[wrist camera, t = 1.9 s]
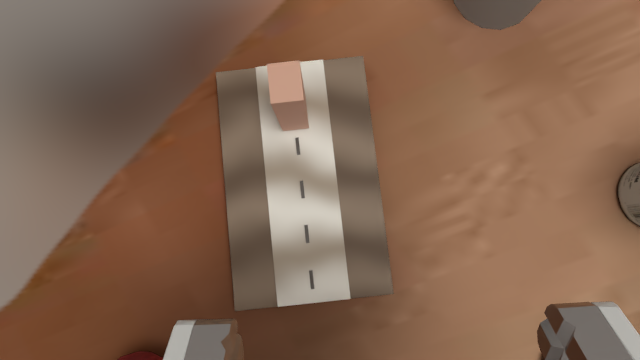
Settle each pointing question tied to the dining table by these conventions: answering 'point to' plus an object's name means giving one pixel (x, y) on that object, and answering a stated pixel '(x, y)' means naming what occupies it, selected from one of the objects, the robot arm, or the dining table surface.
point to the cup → (495, 12)
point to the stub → (288, 95)
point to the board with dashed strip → (302, 190)
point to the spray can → (630, 193)
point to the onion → (141, 356)
